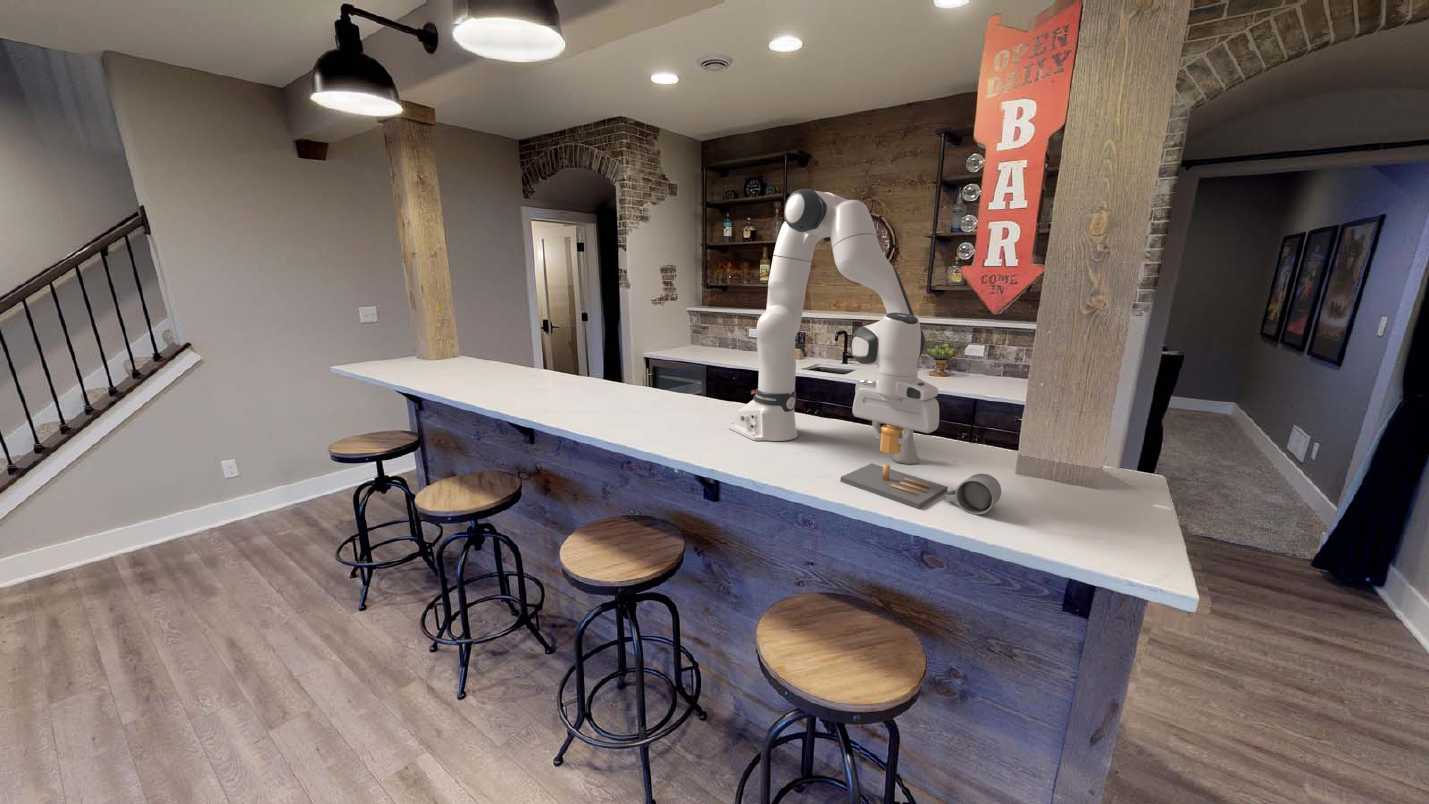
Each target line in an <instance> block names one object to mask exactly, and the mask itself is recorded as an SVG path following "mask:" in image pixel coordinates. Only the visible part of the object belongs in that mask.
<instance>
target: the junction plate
mask: <svg viewBox="0 0 1429 804" xmlns="http://www.w3.org/2000/svg"><path fill="white" fill-rule="evenodd" d="M840 483H843V484H846V485H848V486H849V485H850V486H851V487H854V488H858V489H860V490H863V491H867V492H869V493H871V494H875V495H878V496H880V497H883V498H886V499H889V500H892V501H895V502H898V503H900V504H902V505H903V504H904V505H906V506H909V507H912V508H915V509H916V510H918V509H921V508H923V507H924V506H926V505H928V504H929V503H931V502H933V501H934V500H936V499H937V498H939V497H940V496H943V495H945V494H946V493H948V488H949V487H948V486H947V485H943V484H942V483H941V484H940V483H937V482H933V481H931V480H927V479H924V478H921V477H917V476H915V475H911V474H908V473H905V472H901V471H899V470H894V469H891V465H890V464H886V463H885V464H883V466H882V465H880V464H879V465H878V464H875V463H873V462H872V463H869V464H866V465H865V466H862V467H860V468H858V469H856V470H854V471H851V472H849V473H847V474H844V475H841V476H840Z"/></svg>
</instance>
